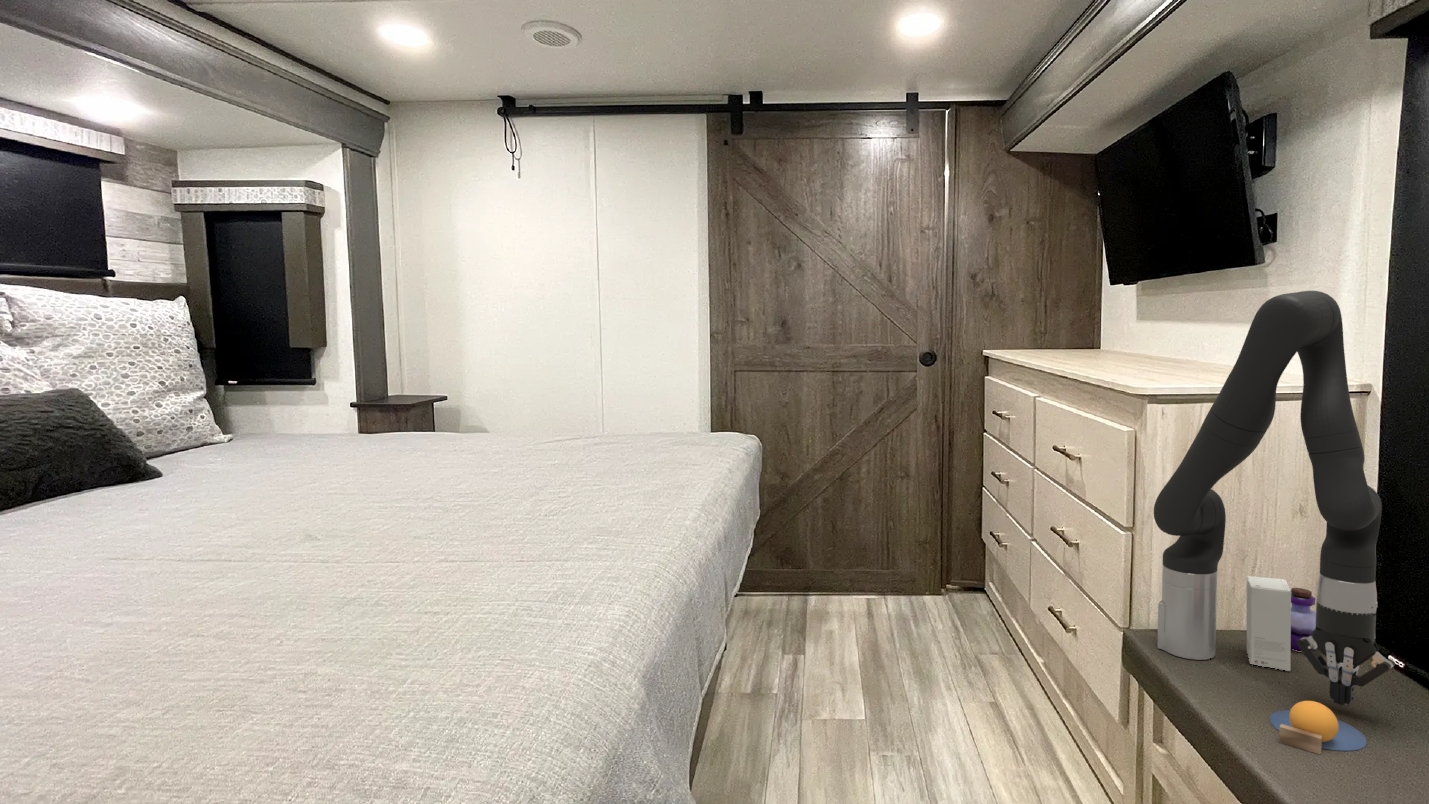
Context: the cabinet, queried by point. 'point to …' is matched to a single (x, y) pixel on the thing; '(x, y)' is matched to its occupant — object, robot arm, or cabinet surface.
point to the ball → (1314, 719)
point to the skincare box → (1269, 622)
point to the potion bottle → (1301, 615)
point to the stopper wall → (1300, 739)
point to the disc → (1342, 741)
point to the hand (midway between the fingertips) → (1341, 703)
